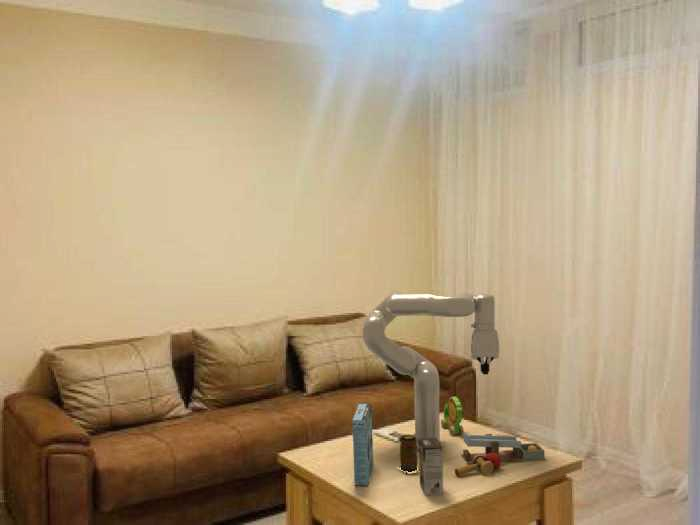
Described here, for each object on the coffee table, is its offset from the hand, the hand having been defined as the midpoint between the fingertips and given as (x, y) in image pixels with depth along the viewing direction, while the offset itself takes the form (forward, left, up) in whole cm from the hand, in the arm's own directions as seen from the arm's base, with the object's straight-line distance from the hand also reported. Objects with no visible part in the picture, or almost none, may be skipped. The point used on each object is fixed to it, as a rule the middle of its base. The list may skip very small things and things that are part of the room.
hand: (484, 373), depth 268 cm
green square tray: (+14, -12, -29) cm, 34 cm away
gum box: (-50, -20, -29) cm, 61 cm away
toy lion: (-8, +20, -29) cm, 36 cm away
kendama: (-10, -24, -30) cm, 39 cm away
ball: (+14, -12, -27) cm, 33 cm away
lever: (-1, -9, -24) cm, 25 cm away
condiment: (-33, -18, -29) cm, 48 cm away
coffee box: (-29, -36, -29) cm, 55 cm away
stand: (-1, -12, -29) cm, 31 cm away
